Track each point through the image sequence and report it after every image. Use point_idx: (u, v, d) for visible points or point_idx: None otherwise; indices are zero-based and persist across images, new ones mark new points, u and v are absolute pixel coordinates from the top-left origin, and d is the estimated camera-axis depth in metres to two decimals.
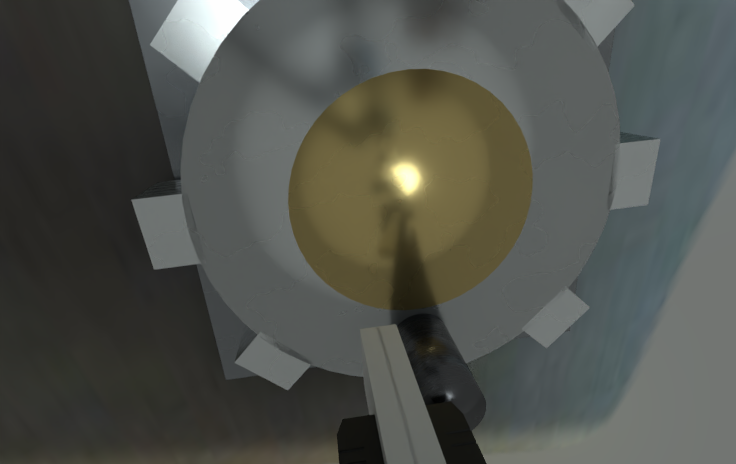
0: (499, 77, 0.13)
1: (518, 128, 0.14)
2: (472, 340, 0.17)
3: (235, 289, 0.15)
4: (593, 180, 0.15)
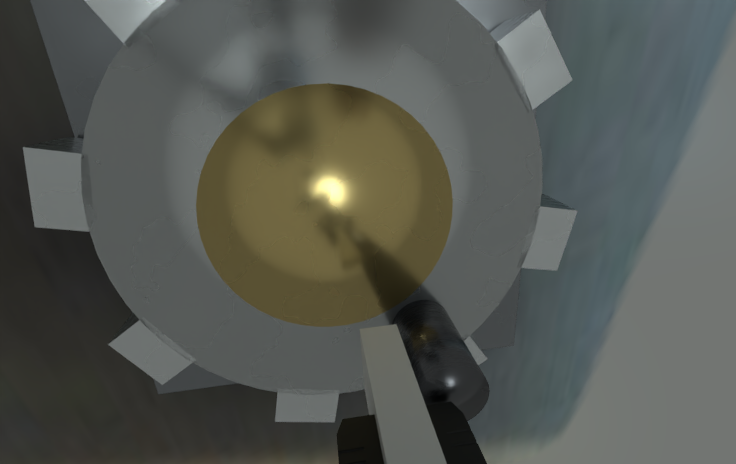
0: (327, 64, 0.12)
1: (380, 96, 0.13)
2: (474, 302, 0.16)
3: (233, 367, 0.16)
4: (493, 94, 0.13)
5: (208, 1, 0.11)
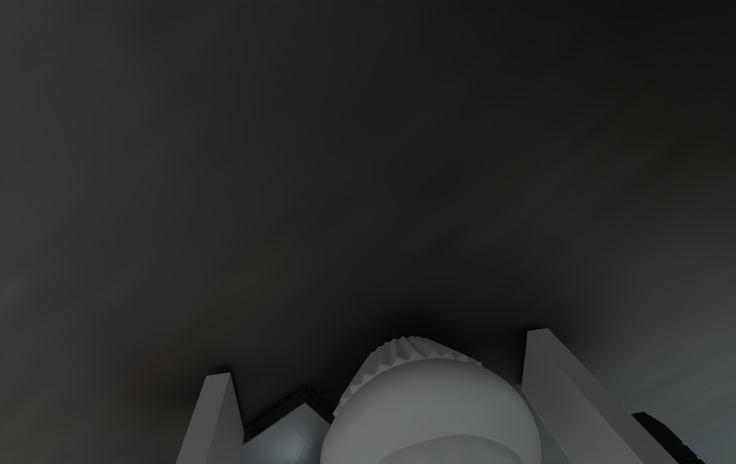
0: None
1: None
2: None
3: None
4: None
5: None
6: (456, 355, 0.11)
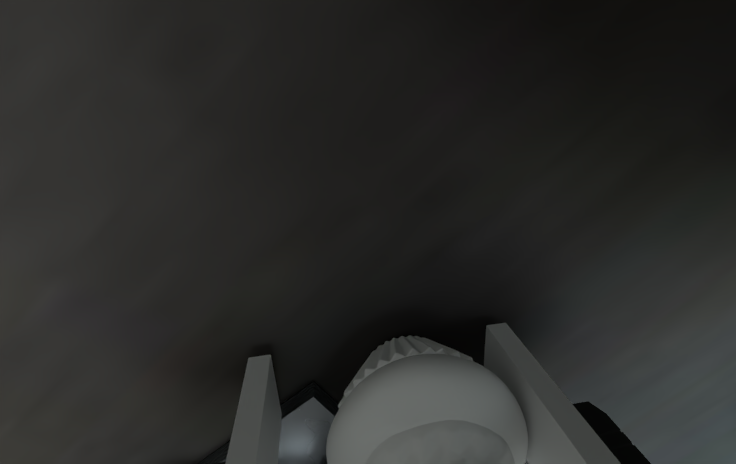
0: None
1: None
2: None
3: None
4: None
5: None
6: (449, 351, 0.12)
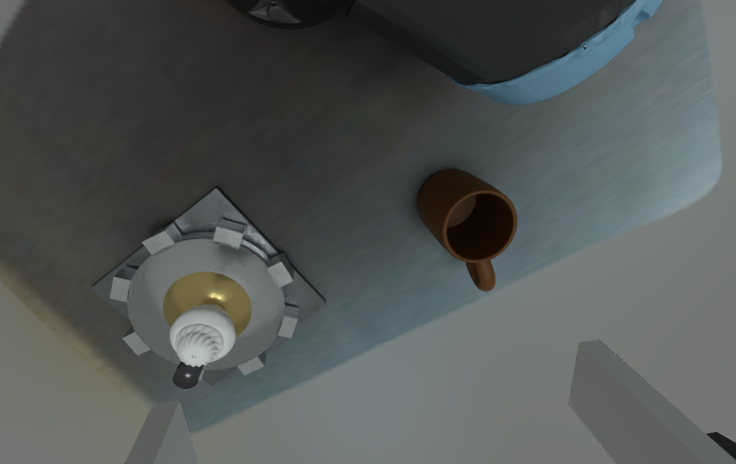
0: (246, 284, 0.41)
1: (249, 300, 0.42)
2: (216, 362, 0.44)
3: (134, 314, 0.41)
4: (272, 323, 0.43)
5: (238, 253, 0.40)
6: (212, 306, 0.39)
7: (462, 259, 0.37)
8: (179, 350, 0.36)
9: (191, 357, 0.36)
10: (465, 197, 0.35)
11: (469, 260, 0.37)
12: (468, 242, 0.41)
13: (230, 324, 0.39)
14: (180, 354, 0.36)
